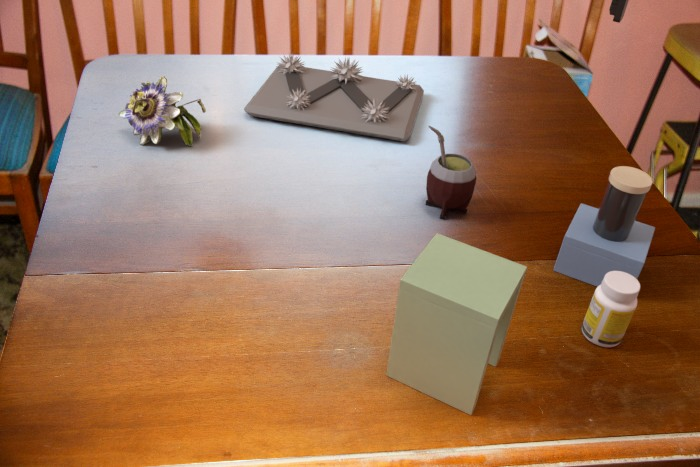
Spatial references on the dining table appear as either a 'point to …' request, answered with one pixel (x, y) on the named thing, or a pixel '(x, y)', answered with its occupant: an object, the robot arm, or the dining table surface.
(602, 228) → the spice jar
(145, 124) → the passion flower
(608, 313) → the supplement bottle
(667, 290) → the dining table surface
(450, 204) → the mate gourd
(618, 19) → the robot arm
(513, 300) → the notched sage green block
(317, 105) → the spiky constellation board
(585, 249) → the blue grey block
